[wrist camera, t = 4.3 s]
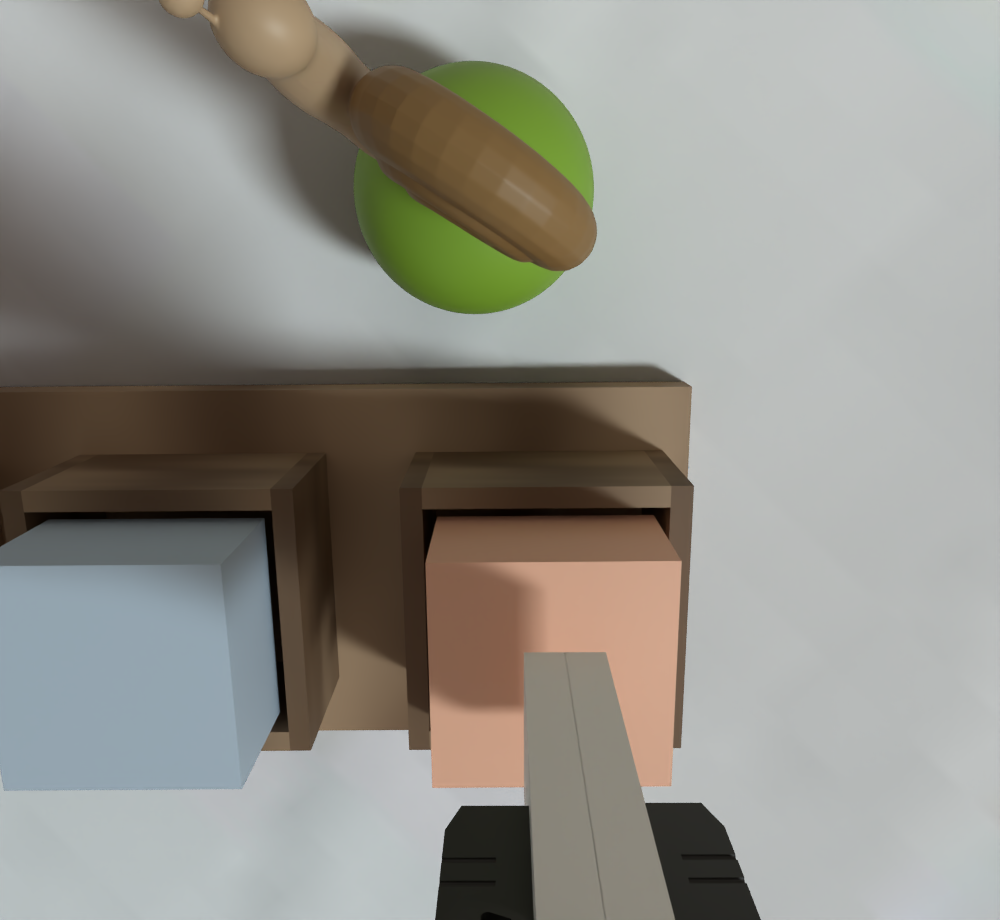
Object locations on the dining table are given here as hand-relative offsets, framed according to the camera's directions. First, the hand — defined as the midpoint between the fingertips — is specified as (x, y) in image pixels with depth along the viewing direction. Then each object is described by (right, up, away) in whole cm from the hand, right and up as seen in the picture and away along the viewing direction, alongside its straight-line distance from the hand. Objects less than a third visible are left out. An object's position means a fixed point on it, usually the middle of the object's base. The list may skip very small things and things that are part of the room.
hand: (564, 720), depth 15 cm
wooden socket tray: (-9, +2, +8) cm, 13 cm away
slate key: (-9, +1, +4) cm, 10 cm away
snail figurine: (-2, +12, +6) cm, 14 cm away
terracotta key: (0, +1, +4) cm, 5 cm away
